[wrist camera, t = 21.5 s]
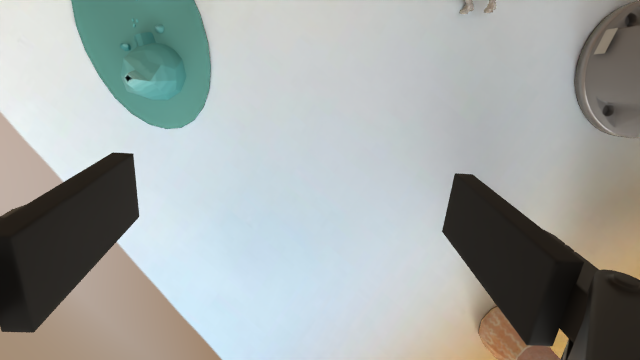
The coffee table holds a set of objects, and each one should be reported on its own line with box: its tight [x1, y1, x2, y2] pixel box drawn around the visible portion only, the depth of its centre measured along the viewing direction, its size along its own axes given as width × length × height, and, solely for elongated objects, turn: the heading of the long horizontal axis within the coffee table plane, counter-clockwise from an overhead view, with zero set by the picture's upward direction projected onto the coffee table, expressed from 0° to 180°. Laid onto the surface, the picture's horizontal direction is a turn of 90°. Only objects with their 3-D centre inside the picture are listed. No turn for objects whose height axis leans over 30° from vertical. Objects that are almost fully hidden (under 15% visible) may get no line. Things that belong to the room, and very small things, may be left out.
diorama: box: [71, 0, 211, 129], centre depth 34 cm, size 12×20×9 cm, turn 17°
